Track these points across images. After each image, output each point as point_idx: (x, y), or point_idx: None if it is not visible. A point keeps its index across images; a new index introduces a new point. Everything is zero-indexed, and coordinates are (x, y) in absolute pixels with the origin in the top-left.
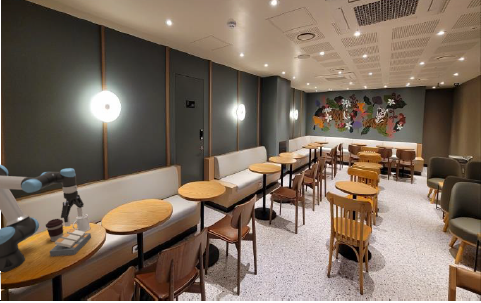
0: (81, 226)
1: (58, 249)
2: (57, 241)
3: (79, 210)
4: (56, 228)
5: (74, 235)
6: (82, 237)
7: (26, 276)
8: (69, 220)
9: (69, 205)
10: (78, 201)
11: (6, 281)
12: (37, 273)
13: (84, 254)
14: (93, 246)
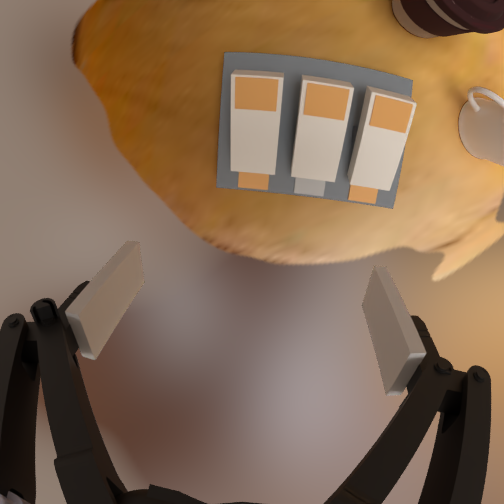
0: (480, 131)
1: None
2: (235, 86)
3: (386, 345)
4: (430, 4)
5: (339, 148)
6: None
7: (99, 62)
8: (113, 322)
9: (128, 494)
10: (445, 466)
11: (88, 13)
12: (108, 92)
13: (217, 228)
14: (284, 243)
